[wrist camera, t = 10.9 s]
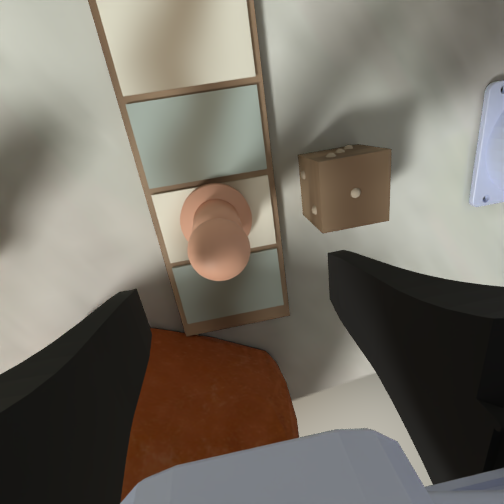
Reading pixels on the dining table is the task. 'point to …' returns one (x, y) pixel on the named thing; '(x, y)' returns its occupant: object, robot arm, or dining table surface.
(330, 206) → the die
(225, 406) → the bread
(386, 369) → the robot arm
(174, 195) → the board
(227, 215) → the pawn
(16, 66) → the dining table surface
